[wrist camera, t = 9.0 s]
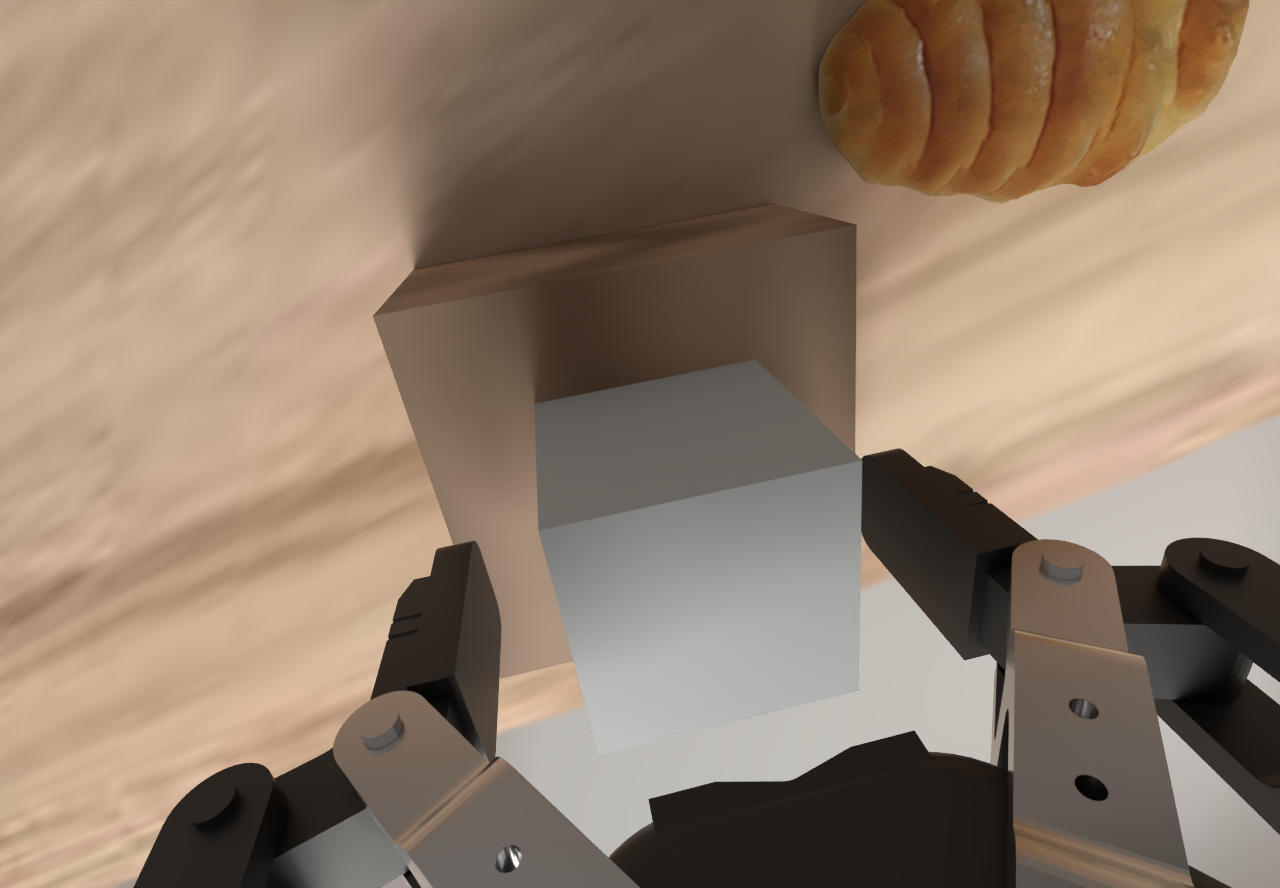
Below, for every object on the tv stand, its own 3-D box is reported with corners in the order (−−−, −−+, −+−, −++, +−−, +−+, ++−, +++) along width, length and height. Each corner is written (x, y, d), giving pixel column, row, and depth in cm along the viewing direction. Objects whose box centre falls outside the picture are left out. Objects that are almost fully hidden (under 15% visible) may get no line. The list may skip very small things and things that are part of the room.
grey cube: (755, 359, 14) (862, 460, 10) (767, 540, 16) (858, 690, 12) (534, 403, 14) (538, 530, 9) (577, 583, 16) (598, 755, 11)
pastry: (816, 237, 18) (882, 257, 15) (794, -43, 15) (871, -99, 12) (1112, 163, 19) (1240, 167, 15) (1147, -122, 16) (1316, -196, 12)
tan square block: (772, 204, 18) (856, 224, 13) (787, 503, 22) (853, 594, 18) (413, 269, 17) (372, 315, 12) (505, 566, 21) (500, 678, 17)
